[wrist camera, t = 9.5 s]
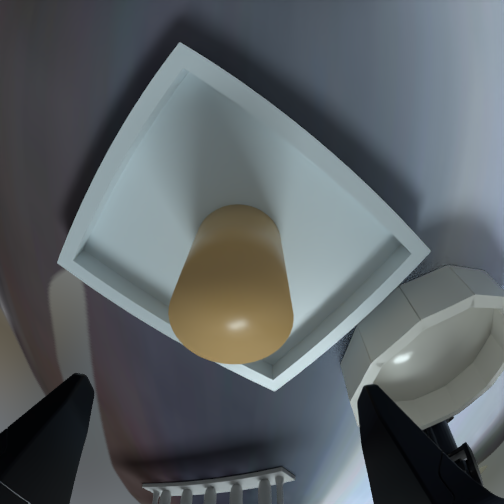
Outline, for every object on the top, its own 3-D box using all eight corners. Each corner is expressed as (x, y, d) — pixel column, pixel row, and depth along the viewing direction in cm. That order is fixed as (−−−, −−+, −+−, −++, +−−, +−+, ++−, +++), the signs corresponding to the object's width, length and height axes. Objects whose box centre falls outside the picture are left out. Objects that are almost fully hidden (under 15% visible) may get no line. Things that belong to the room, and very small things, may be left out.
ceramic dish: (514, 321, 23) (533, 345, 19) (403, 416, 29) (413, 444, 25) (453, 226, 19) (484, 252, 15) (304, 369, 24) (309, 407, 21)
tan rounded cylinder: (298, 238, 18) (319, 311, 12) (246, 294, 20) (243, 378, 14) (228, 186, 17) (213, 240, 11) (180, 252, 19) (148, 327, 13)
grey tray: (415, 235, 19) (431, 251, 17) (273, 369, 24) (274, 391, 22) (189, 49, 14) (179, 42, 12) (73, 247, 20) (57, 262, 18)
